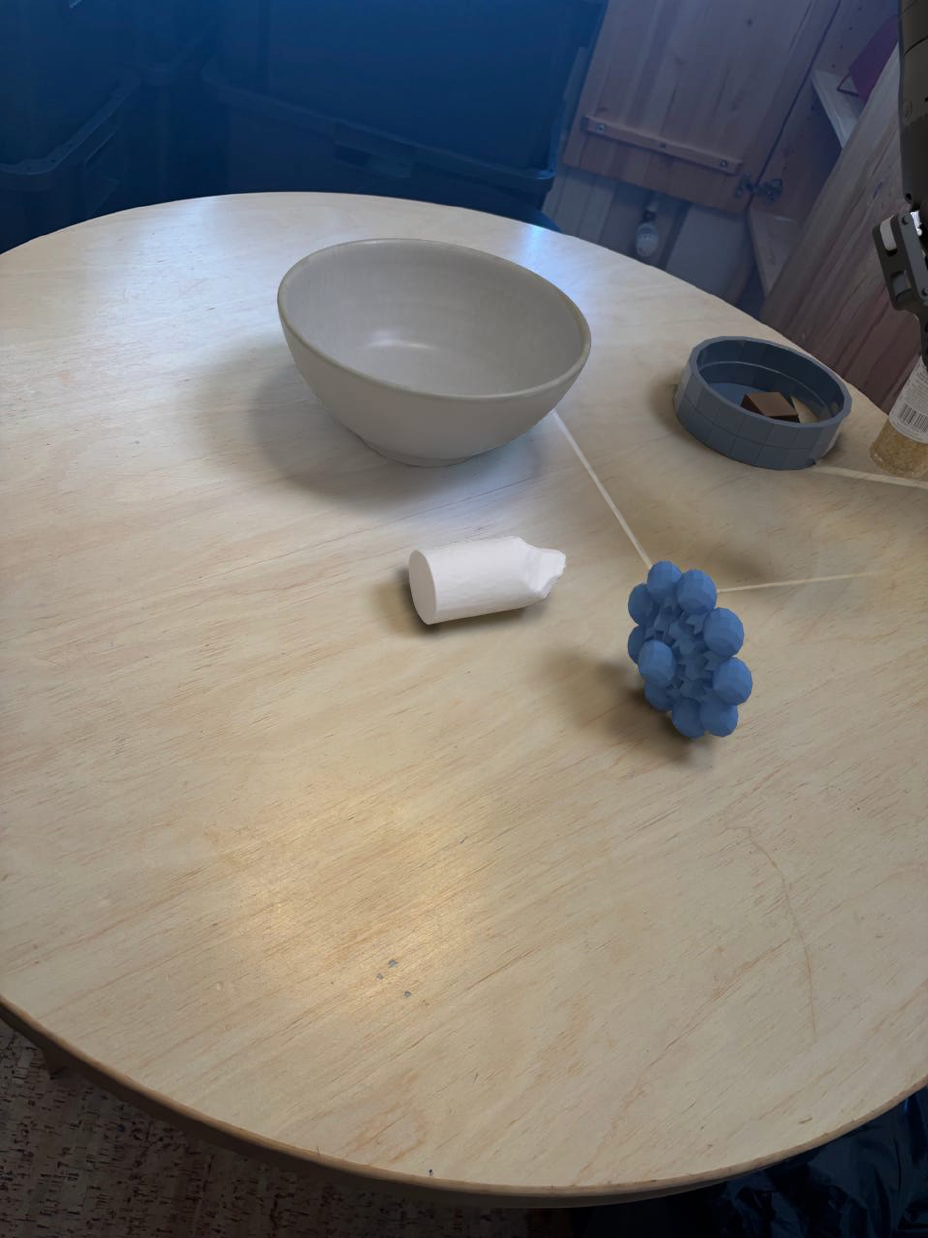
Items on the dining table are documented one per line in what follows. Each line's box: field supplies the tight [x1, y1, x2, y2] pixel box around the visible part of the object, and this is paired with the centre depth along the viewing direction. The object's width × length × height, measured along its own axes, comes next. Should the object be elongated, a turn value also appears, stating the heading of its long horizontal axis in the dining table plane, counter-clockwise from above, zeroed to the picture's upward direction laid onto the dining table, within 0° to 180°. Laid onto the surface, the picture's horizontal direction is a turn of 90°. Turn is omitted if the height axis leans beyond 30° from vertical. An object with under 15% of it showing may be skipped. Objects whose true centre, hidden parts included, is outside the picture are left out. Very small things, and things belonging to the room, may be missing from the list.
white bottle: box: [408, 535, 567, 625], centre depth 72 cm, size 6×12×6 cm, turn 111°
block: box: [740, 392, 800, 422], centre depth 95 cm, size 4×4×4 cm
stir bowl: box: [672, 335, 853, 471], centre depth 97 cm, size 17×17×6 cm
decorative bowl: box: [276, 237, 592, 468], centre depth 85 cm, size 27×27×12 cm
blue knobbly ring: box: [627, 560, 754, 740], centre depth 64 cm, size 12×7×12 cm, turn 33°
